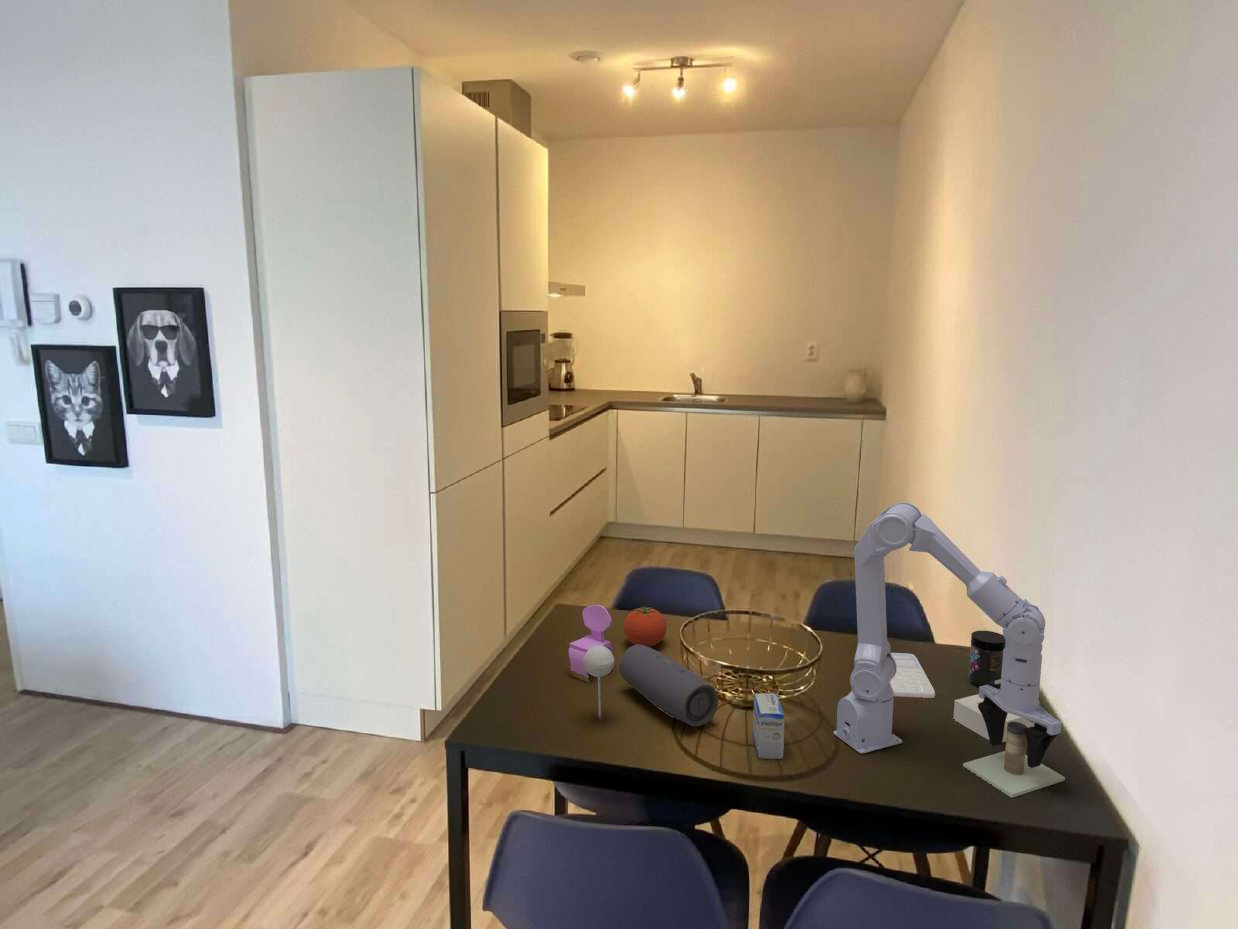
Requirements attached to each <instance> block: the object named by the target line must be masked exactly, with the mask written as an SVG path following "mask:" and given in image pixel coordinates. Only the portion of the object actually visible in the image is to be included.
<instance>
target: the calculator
mask: <svg viewBox="0 0 1238 929" xmlns="http://www.w3.org/2000/svg"><path fill="white" fill-rule="evenodd" d="M855 655H856V653H855ZM855 655H854V656H855ZM891 655H892V657H893V659H894V660H895V663H896V666H897V670H896V674H895V676H894V677H893V678H892V679H891V681H890V684H891V687H892V689H893V692H894V697H898V698H901V697H903V698H918V697H919V698H920V699H921V697H922V698H923V699H924V698H925V699H933V698H935V697H936V692H935V688H934V687H933V685H932V684H931V682H930V680H929V678H928V676H927V675H926V673H925V670H924V669H923V667H922V666H921V665H922V664H921V663H920V662H919V660H918V658H917V656H916V655H915V654H912V653H909V652H907V653H904V652H891Z"/></svg>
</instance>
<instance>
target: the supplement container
mask: <svg viewBox="0 0 1238 929" xmlns="http://www.w3.org/2000/svg"><path fill="white" fill-rule="evenodd" d="M1005 644H1006V640H1005V638H1004V635H1003V633H1002V634H1001V633H998V632H996V631H992V630H974V631H973V632H972V633H971V636H970V651H969V652H970V653H969V665H968V681H969V682H970V683H971V685H973V684H974V685H973V686H975V687H978V688H979V687H980V686H984V685H989V686H992V687H994V688H998V689H1000V688H1001V675H1002V662H1003V650H1004V648H1005Z"/></svg>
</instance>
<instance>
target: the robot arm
mask: <svg viewBox="0 0 1238 929" xmlns="http://www.w3.org/2000/svg"><path fill="white" fill-rule="evenodd" d="M909 544H910V547H909V548H908V551H909V552H918V553H927V554H929V555H931V556H932V557H933V558H934V559H935V560H936V561H937V562H939V563H940V564H941V565H942V566H943V567H945V568H946V569H947V570H948V571H949V572H951V573H952V574H953V575H954V576H955V577H957V579H958V580H960V581H961V582H962V583H963V584H964V585H965V586H966V596H967V598H969V599H970V600H971V602H972V603H974V605H976V606H977V607H978V608H979V609H980V610H981V611H982V612H983V613H984V614H985V615H986V616H988V618H990V620H992V621H993V623H995V624H996V625H998V626H999V627H1001V628H1002V635H1003V636H1004V638H1005V640H1006V644H1005V648H1004V650H1003V662H1002V675H1001V687H1000V688H998V689H997V688H994V687H992V686H989V685H984V686H980V687H978V694H979V697H980V698H982V699H984V700H983V702H981V703H979V704H978V709H979V710H980V712H981V714H982V716H983V718H984V721H985V724H986V727H987V731H988V736H989V740H990V741H989V740H988V741H989V744H990V745H991V746H996V745H999V744H1003V743H1002V740H1003V736H1004V726H1005V721H1006V717H1007V714H1008V713H1010V714H1013V715H1016V716H1019V717H1022V718H1024V719H1026V720H1028V721H1030V722H1032V723H1034V727H1033V726H1032V727H1029V728H1025V729H1024V732H1025V735H1026V739H1027V740H1026V746H1027V754H1026V755H1027V763H1028V766H1029V767H1030V768H1034V767H1037V766H1040V764H1042V761H1043V758H1044V757H1045V754H1046V752H1047V750H1048V748H1049V746H1050V745H1051V744H1052V743H1053V741H1054V740H1055V738H1056V737H1057V736H1058V735H1060V734H1061V732H1062V721H1060V720H1059V719H1057V718H1055V717H1054V716H1053V715H1051V714H1050V713H1049V712H1048V711H1047V710H1046V709H1044V708H1043V707H1042V706H1041V701H1040V700H1039V697H1040V686H1041V685H1040V684H1041V673H1042V663H1043V655H1042V651H1043V642H1044V639H1045V630H1046V621H1045V620H1046V619H1045V616H1044V614H1043V613H1042V611H1041V610H1040V609H1039V607H1038V606H1037V605H1034V604H1032V603H1031V602H1029V601H1028V600H1027V599H1022V598H1021V597H1020V596H1019V595H1018V594H1017V593H1015V592H1014V591H1013V589H1011V587H1010V586H1008V585H1007V582H1008V580H1007V579H1006V578H1005V577H1004V576H1003V575H1000V576H998V575H997V574H995V573H994V572H991V571H984V570H983V571H982V570H980V569H979V568H978V567H977V566H976V564H974V563H973V562H972V560H970V558H968V557H967V555H966V554H965V553H963V551H962V550H961V549H960V548H959V547H957V545H956V544H955V542H953V541H952V540H951V539H950V538H949V537H948V536H947V535H946V534H945V533H944V531H942V530H941V529H940V527H938V526H937V525H936V523H935V522H934V521H933V520H932V519H931V518H930V517H929V516H928V515H926V514H925V513H923V514H922V512H921V510H920V509H919V508H918V507H917V506H916V505H914V504H913V503H910V502H906V501H905V502H904V501H903V502H901V501H900V502H897V503H895V504H892V505H891V506H889V507H888V508H886V509H885V510H884V511H882V512H881V513H880V514H879V515H878V516H877V517H876V519H874V520H873V521H871V522H870V523H869V525H868V527H867V528H866V530H865V531H864V533H863V534H862V536H861V537H860V538H859V540H858V542H857V543H856V544H855V547H854V549H853V550H854V551H853V553H854V575H855V577H854V578H855V596H856V597H855V600H856V603H855V604H856V625H857V626H856V628H857V646H856V651H855V654H856V655H854V668H853V671H852V672H851V674H850V677H849V684H850V687H851V691H850V692H849V693H848V695H846V696H844V697H842V698H840V699H839V701H838V702H837V708H836V730H833V735H835V736H836V737H837V738H838V739H840V740H841V741H843V742H844V743H846V744H847V745H848V746H849V747H851V748H852V749H854V750H855V751H856V752H858V753H859V754H861V755H862V754H867V753H870V752H873V751H876V750H877V751H878V750H882V749H884V748H888V747H892V746H895V745H900V744H903V740H902V739H901V738H900V737H898V736H896V735H895V734H894V733H893V714H894V711H893V710H894V697H895V696H894V692H893V689H892V687H891V684H890V681H891V679H892V678H893V677H894V676H895V674H896V670H897V666H896V663H895V660H894V659H893V657H892V655H891V653H892V652H891V644H890V642H889V641H888V630H887V628H888V627H887V626H888V625H887V604H886V603H887V601H886V598H887V597H886V575H885V574H886V572H885V557H886V556H887V555H888V554H890V553H891V552H893V551H897V550H898V549H902V548H905V547H906V546H907V545H909Z"/></svg>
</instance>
